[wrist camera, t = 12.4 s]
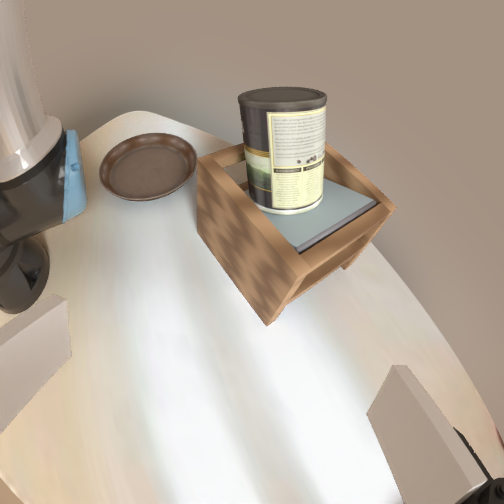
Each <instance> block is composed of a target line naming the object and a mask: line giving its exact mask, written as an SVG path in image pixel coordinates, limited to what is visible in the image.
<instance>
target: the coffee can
mask: <svg viewBox="0 0 504 504" xmlns="http://www.w3.org/2000/svg"><path fill="white" fill-rule="evenodd" d="M326 101H327V95H326V94H325V93H323V92H321V91H318V90H315V89H309V88H301V87H272V88H262V89H256V90H251V91H247V92H245V93H242V94H240V95H239V96H238V102H239V104H240V114H241V122H242V130H243V141H244V149H245V158H246V168H247V178H248V187H249V198H250V199H251V200H252V201H253V202H254V204H255V205H256V206H257V207H258V208H259V209H260V210H262V211H265V212H268V213H272V214H279V215H292V214H299V213H304V212H307V211H309V210H311V209H313V208H315V207H316V206H318V205H319V204H320V202H321V201H322V199H323V175H324V155H325V120H326Z"/></svg>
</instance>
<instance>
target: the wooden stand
mask: <svg viewBox="0 0 504 504" xmlns="http://www.w3.org/2000/svg"><path fill="white" fill-rule="evenodd" d="M243 160H246V158H245V149H244V143H242V144H239V145H236V146H233V147H230V148H227V149H224V150H221V151H218V152H215V153H212V154H209V155H206V156H203V157H200V158H198V159H197V220H198V234H199V235H200V237H201V238H202V240H203V241H204V242H205V244H206V245H207V247H208V248H209V249H210V251H211V252H212V254H213V255H214V256H215V258H216V259H217V261H218V262H219V263H220V265H221V266H222V267H223V269H224V270H225V272H226V273H227V274H228V276H229V277H230V278H231V280H232V281H233V282H234V284H235V285H236V286H237V288H238V289H239V291H240V292H241V293H242V295H243V296H244V297H245V299H246V300H247V301H248V303H249V304H250V305H251V307H252V308H253V309H254V311H255V312H256V313H257V315H258V316H259V317H260V319H261V320H262V321H263V323H264V324H265V325H266V326H268V325H269V324H271V323H272V322H274V321H275V320H276V319H277V318H278V316H279V315H280V313H281V312H282V310H283V309H284V307H285V306H286V305H287V304H289V303H290V302H292V301H293V300H295V299H296V298H297V297H299V296H300V295H302V294H303V293H305V292H306V291H307V290H309V289H310V288H312V287H313V286H314V285H316V284H317V283H319V282H320V281H321V280H323V279H324V278H325V277H327V276H328V275H329V274H331V273H332V272H334V271H335V270H336V269H338V268H339V267H340V266H341V267H342V268H343V269H344V270H345V269H346V268H348V267H349V266H350V265H351V264H352V263H353V262H354V260H355V259H356V258H357V257H358V256H359V254H360V253H361V252H362V251H363V250H364V248H365V247H366V246H367V245H368V243H369V242H370V241H371V239H373V237H374V236H375V234H377V232H378V231H379V230H380V228H381V227H382V226H383V225H384V223H385V222H386V221H387V219H388V218H389V217H390V216H391V214H392V213H393V212H394V210H395V209H396V208H397V207H396V206H395V205H394V204H393V203H392V202H391V201H390V200H389V199H388V198H387V197H386V196H385V195H384V194H383V193H382V192H381V191H380V190H379V189H378V188H377V187H376V186H375V185H374V184H373V183H371V182H370V181H369V180H368V179H367V178H366V177H365V176H364V175H363V174H362V173H361V172H360V171H359V170H358V169H356V168H355V167H354V166H353V165H352V164H351V163H350V162H348V161H347V160H346V159H345V158H344V157H343V156H342V155H341V154H339V153H338V152H337V151H336V150H335V149H333V148H332V147H331V146H330V145H329V144H327V143H326V142H325V155H324V175H323V178H325V179H327V180H330V181H332V182H334V183H337V184H339V185H342V186H344V187H346V188H348V189H351V190H353V191H355V192H358V193H360V194H362V195H364V196H366V197H369V198H371V199H373V200H375V201H376V206H375V207H373V208H372V209H370V210H369V211H367V212H366V213H364V214H363V215H361V216H360V217H358V218H357V219H355V220H353V221H352V222H350V223H349V224H347V225H346V226H344V227H343V228H341V229H339V230H338V231H336V232H335V233H333V234H332V235H330V236H328V237H327V238H325V239H324V240H322V241H321V242H320V243H318V244H317V245H315V246H313V247H312V248H310V249H309V250H307V251H305V252H304V253H302V254H301V255H299V254H298V252H297V251H296V250H295V249H294V248H293V247H292V246H291V244H290V243H289V242H288V241H287V240H286V239H285V237H284V236H283V235H282V234H281V233H280V232H279V231H278V229H277V228H276V227H275V226H274V225H273V224H272V223H271V222H270V220H269V219H268V218H267V217H266V216H265V215H264V214H263V213H262V211H261V210H260V209H259V208H258V207H257V206H256V205H255V204H254V202H253V201H252V200H251V199H250V198H249V197H248V196H247V195H246V194H245V192H244V191H246V190H249V187H248V181H247V182H245V183H242V184H240V185H237V184H236V183H235V182H234V180H233V179H232V178H231V177H230V176H229V175H228V174H227V173H226V172H225V171H224V170H223V168H224V167H227V166H229V165H232V164H235V163H238V162H240V161H243Z"/></svg>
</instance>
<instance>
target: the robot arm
mask: <svg viewBox="0 0 504 504" xmlns="http://www.w3.org/2000/svg"><path fill="white" fill-rule="evenodd" d="M86 205H87V194H86V187H85V179H84V172H83V165H82V158H81V151H80V144H79V139H78V134H77V131H76V130H67V131H65V132H64V130H63V127H62V124H61V122H60V120H59V119H58V118H57V117H55V116H50V115H46V113H45V110H44V107H43V103H42V100H41V96H40V92H39V89H38V85H37V81H36V77H35V72H34V68H33V63H32V59H31V54H30V48H29V42H28V36H27V30H26V23H25V13H24V3H23V0H0V310H2V311H3V312H5V313H8V314H17V313H21V312H23V311H25V310H26V309H28V308H29V307H30V306H32V305H33V304H34V303H35V301H36V300H37V299H38V298H39V296H40V295H41V293H42V291H43V289H44V287H45V285H46V282H47V279H48V274H49V258H48V255H47V252H46V250H45V249H44V247H43V246H42V245H41V243H40V242H39V241H38V240H37V239H36V238H35V237H33V235H35V234H37V233H40V232H42V231H45V230H47V229H49V228H52V227H54V226H57V225H59V224H63V223H65V222H66V221H67V220H69V219H71V218H73V217H75V216H77V215H80V214H81V213H82V212H83V211H84V210H85V208H86ZM71 356H72V352H71V344H70V335H69V325H68V311H67V299H65V298H62V297H59V296H57V295H54V294H52V295H51V296H49V297H48V298H46V299H44V300H43V301H41V302H39V303H38V304H36V305H35V306H33V307H31V308H30V309H28V310H27V311H25V312H24V313H22V314H20V315H19V316H17V317H16V318H14V319H13V320H11V321H10V322H8V323H7V324H5V325H4V326H2V327H1V328H0V434H1V433H2V432H3V431H4V429H5V428H6V427H7V426H8V425H9V424H10V422H11V421H12V420H13V419H14V418H15V417H16V415H17V414H18V413H19V412H20V411H21V410H22V409H23V408H24V406H25V405H26V404H27V403H28V402H29V401H30V400H31V399H32V397H33V396H34V395H35V394H36V393H37V392H38V391H39V390H40V389H41V388H42V387H43V385H44V384H45V383H46V382H47V381H48V380H49V379H50V378H51V377H52V376H53V375H54V374H55V373H56V372H57V371H58V369H59V368H60V367H61V366H62V365H63V364H64V363H65V362H66V361H67V360H68V359H69V358H70V357H71ZM366 414H367V416H368V419H369V421H370V423H371V425H372V428H373V430H374V432H375V434H376V437H377V439H378V441H379V444H380V446H381V448H382V451H383V453H384V455H385V458H386V460H387V462H388V465H389V467H390V469H391V472H392V474H393V477H394V479H395V481H396V484H397V486H398V489H399V491H400V494H401V496H402V499H403V501H404V504H504V478H497V479H495V480H493V478H492V477H491V476H490V474H489V473H488V471H487V470H486V468H485V467H484V465H483V464H482V462H481V461H480V459H479V458H478V456H477V455H476V453H474V450H473V449H472V447H471V446H469V443H468V442H467V440H466V439H465V437H464V436H463V435H462V434H461V433H460V432H459V431H458V430H456V429H455V428H454V427H452V426H451V424H450V423H449V421H448V420H447V419H446V417H445V416H444V414H443V413H442V412H441V410H440V409H439V408H438V406H437V405H436V403H435V402H434V401H433V399H432V398H431V397H430V395H429V394H428V393H427V391H426V390H425V389H424V387H423V386H422V385H421V383H420V382H419V381H418V379H417V378H416V377H415V376H414V374H413V373H412V372H411V370H410V369H409V368H408V366H405V365H392V367H391V369H390V371H389V373H388V375H387V377H386V379H385V381H384V383H383V385H382V387H381V389H380V391H379V392H378V394H377V396H376V398H375V400H374V401H373V403H372V405H371V407H370V408H369V410H368V412H367V413H366Z"/></svg>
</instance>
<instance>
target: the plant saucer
mask: <svg viewBox="0 0 504 504" xmlns="http://www.w3.org/2000/svg"><path fill="white" fill-rule="evenodd" d="M196 166H197V154H196V151H195V149H194V148H193V147H192V145H191V144H190V143H188V142H187V141H186V140H184V139H182V138H180V137H178V136H175V135H171V134H166V133H148V134H142V135H138V136H135V137H132V138H129V139H127V140H125V141H123V142H121V143H119V144H118V145H116V146H115V147H114V148H113V149H111V150H110V151H109V152H108V154H107V155H106V156H105V157H104V159H103V161H102V163H101V165H100V169H99V177H100V181H101V183H102V185H103V186H104V188H105V189H106V190H107V191H109V192H110V193H112V194H113V195H115V196H117V197H120V198H122V199H126V200H130V201H150V200H155V199H159V198H162V197H165V196H167V195H169V194H171V193H173V192H175V191H176V190H178V189H179V188H180V187H182V186H183V185H184V184H185V183H186V182H187V181H188V180H189V179H190V177H191V176H192V175H193V173H194V171H195V169H196Z"/></svg>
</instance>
